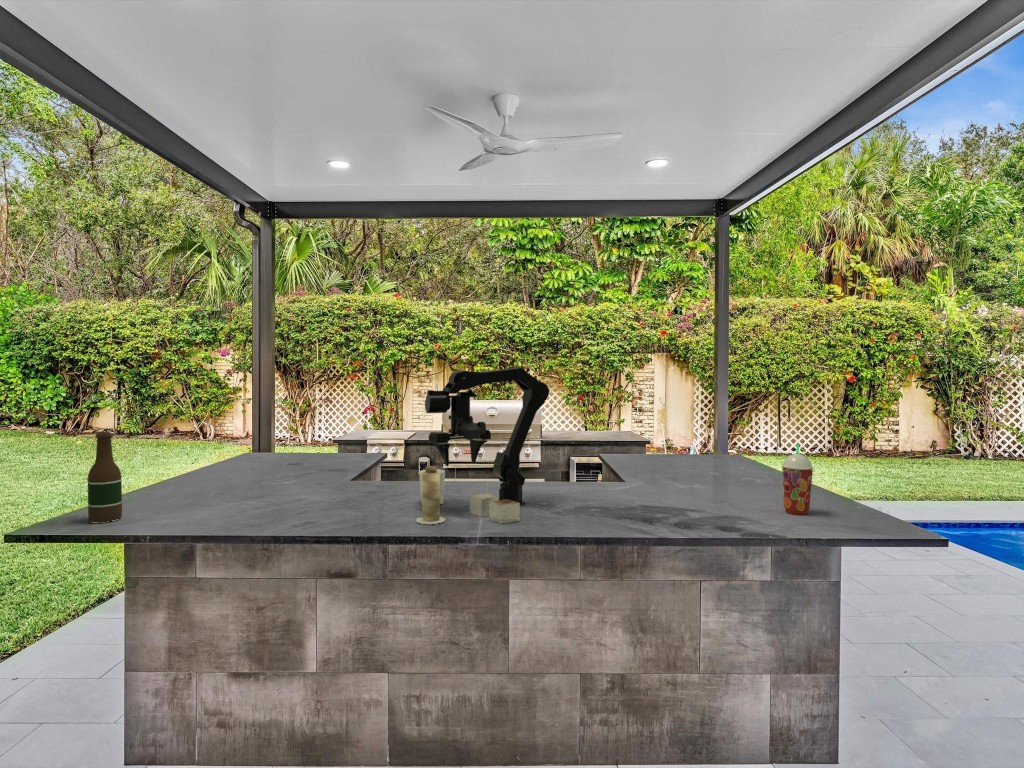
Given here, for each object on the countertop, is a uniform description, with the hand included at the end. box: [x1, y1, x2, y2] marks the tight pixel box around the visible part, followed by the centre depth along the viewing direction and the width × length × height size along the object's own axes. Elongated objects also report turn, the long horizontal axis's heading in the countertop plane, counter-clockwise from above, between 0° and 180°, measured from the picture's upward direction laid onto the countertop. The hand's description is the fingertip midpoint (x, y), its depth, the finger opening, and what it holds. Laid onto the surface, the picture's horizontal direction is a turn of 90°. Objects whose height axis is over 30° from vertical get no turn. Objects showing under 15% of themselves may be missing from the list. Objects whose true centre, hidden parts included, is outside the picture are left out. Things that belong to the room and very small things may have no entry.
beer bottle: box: [87, 431, 123, 522], centre depth 170 cm, size 8×8×24 cm
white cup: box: [418, 469, 446, 505], centre depth 192 cm, size 8×8×10 cm
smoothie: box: [781, 444, 814, 516], centre depth 182 cm, size 8×8×20 cm
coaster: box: [415, 516, 446, 525], centre depth 170 cm, size 8×8×1 cm
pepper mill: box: [421, 465, 441, 522], centre depth 170 cm, size 5×5×14 cm
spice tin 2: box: [488, 499, 521, 525], centre depth 172 cm, size 6×6×5 cm
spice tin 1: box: [469, 492, 499, 518], centre depth 180 cm, size 6×6×5 cm
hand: (460, 464), depth 186 cm, fingers open, 9 cm apart
